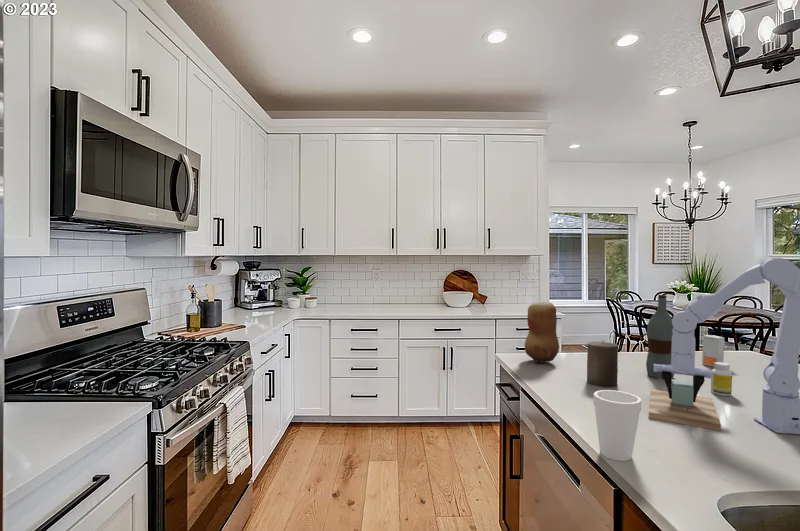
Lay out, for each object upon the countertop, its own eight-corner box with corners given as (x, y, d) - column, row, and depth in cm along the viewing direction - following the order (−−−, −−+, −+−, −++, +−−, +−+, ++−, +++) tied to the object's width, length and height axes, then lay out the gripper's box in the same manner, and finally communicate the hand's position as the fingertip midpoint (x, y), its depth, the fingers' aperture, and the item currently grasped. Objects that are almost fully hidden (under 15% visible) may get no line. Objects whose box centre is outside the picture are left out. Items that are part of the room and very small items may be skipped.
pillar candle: (619, 388, 145) (620, 343, 145) (587, 385, 148) (588, 341, 148) (615, 380, 154) (616, 338, 154) (585, 378, 157) (586, 336, 157)
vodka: (681, 378, 157) (683, 295, 157) (663, 381, 154) (665, 296, 153) (657, 371, 166) (659, 293, 165) (640, 374, 163) (642, 294, 162)
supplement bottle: (735, 396, 137) (736, 366, 137) (715, 395, 138) (716, 365, 138) (725, 391, 143) (726, 362, 142) (707, 390, 144) (708, 361, 144)
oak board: (720, 430, 111) (720, 424, 111) (648, 417, 119) (648, 412, 119) (711, 403, 131) (712, 398, 131) (650, 393, 139) (650, 389, 139)
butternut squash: (518, 359, 184) (519, 300, 183) (545, 357, 188) (546, 299, 187) (538, 367, 171) (539, 304, 170) (566, 365, 175) (567, 303, 174)
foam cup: (599, 441, 104) (600, 387, 103) (643, 453, 98) (644, 395, 97) (587, 455, 96) (588, 397, 96) (634, 468, 90) (635, 407, 90)
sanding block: (692, 409, 122) (693, 388, 121) (671, 405, 124) (672, 385, 124) (691, 402, 128) (692, 381, 127) (671, 398, 130) (671, 379, 130)
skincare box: (701, 364, 178) (702, 335, 178) (707, 363, 180) (708, 334, 180) (717, 368, 173) (718, 338, 172) (724, 366, 174) (724, 337, 174)
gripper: (653, 352, 126) (652, 398, 126) (715, 358, 118) (714, 408, 119) (654, 347, 132) (653, 392, 132) (712, 353, 124) (711, 400, 125)
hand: (681, 399), depth 126 cm, fingers closed on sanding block, 5 cm apart
